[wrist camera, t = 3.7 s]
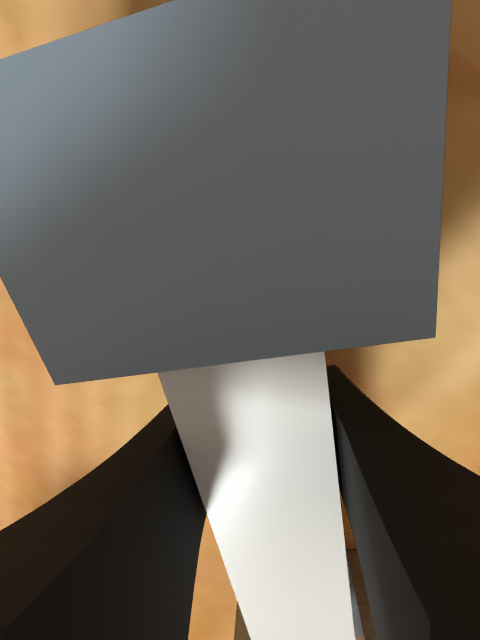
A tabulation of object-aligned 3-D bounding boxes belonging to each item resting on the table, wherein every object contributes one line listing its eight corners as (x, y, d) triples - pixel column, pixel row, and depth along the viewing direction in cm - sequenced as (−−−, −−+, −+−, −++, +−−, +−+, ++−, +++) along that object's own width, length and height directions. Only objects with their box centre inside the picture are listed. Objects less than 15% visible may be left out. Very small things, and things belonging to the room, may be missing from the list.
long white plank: (290, 157, 7) (304, 129, 4) (342, 594, 14) (363, 708, 11) (160, 188, 8) (86, 183, 5) (271, 593, 15) (271, 703, 12)
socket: (338, 88, 8) (456, -96, 3) (349, 263, 9) (435, 337, 4) (109, 149, 9) (-93, 91, 4) (156, 296, 10) (55, 385, 5)
